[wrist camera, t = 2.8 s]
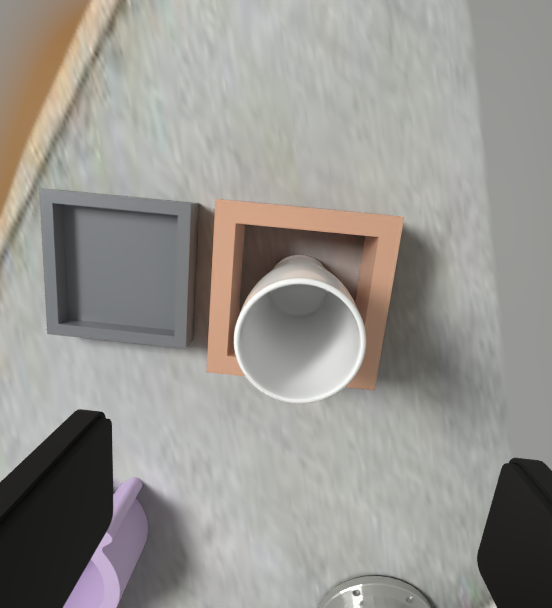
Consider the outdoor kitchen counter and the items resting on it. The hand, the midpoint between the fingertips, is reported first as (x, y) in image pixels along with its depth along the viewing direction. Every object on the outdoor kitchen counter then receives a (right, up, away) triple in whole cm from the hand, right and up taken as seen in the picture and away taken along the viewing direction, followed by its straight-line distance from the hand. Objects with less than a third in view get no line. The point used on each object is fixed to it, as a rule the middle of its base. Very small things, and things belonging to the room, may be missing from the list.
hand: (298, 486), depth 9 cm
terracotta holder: (+1, +6, +25) cm, 25 cm away
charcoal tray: (-13, +8, +25) cm, 29 cm away
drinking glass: (+2, +6, +25) cm, 26 cm away
